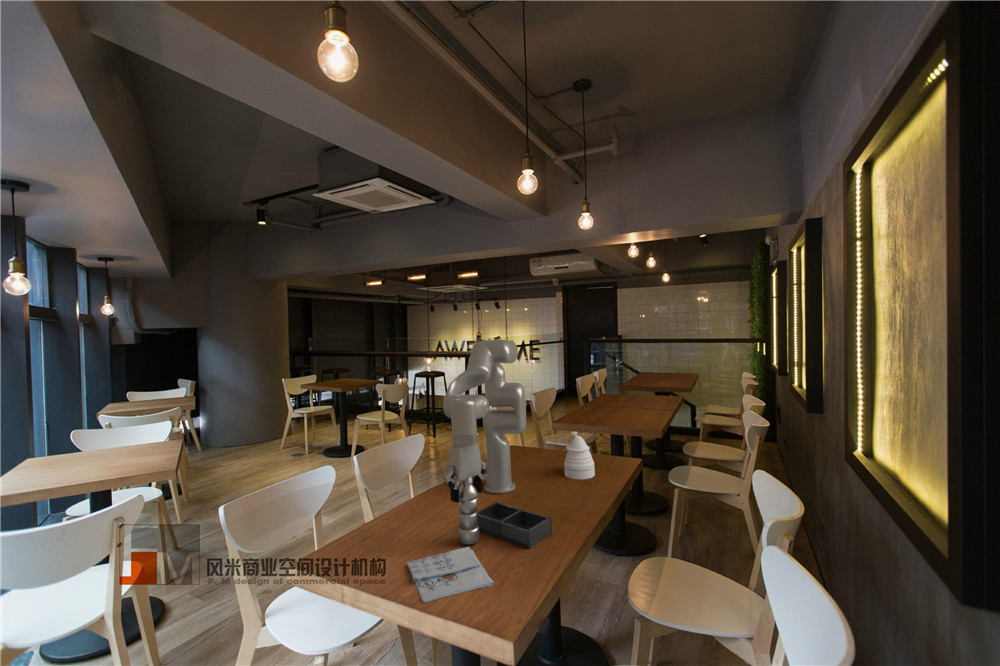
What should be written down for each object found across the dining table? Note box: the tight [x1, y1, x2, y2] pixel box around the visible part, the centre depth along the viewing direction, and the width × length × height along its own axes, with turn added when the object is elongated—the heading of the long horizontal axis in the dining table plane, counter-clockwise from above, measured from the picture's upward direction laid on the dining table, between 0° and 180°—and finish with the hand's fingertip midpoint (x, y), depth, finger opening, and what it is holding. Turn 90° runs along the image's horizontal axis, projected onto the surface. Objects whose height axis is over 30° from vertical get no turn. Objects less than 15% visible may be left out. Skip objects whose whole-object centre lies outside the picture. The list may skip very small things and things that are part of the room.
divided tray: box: [477, 501, 553, 550], centre depth 139 cm, size 22×12×5 cm, turn 50°
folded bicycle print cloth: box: [406, 546, 495, 604], centre depth 116 cm, size 19×20×2 cm
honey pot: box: [563, 431, 596, 480], centre depth 190 cm, size 13×13×18 cm
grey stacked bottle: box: [457, 477, 481, 546], centre depth 133 cm, size 6×7×20 cm
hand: (466, 496), depth 133 cm, fingers open, 9 cm apart
